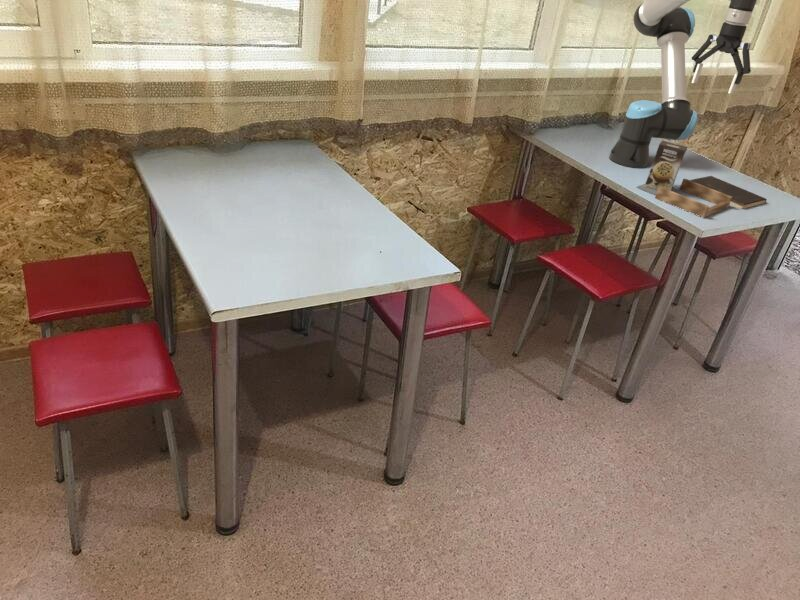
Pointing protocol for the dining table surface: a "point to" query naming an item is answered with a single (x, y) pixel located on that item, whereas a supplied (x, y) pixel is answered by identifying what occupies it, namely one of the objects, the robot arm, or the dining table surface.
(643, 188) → the mat
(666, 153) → the coffee box
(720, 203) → the shelf lane
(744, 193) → the hardcover book
